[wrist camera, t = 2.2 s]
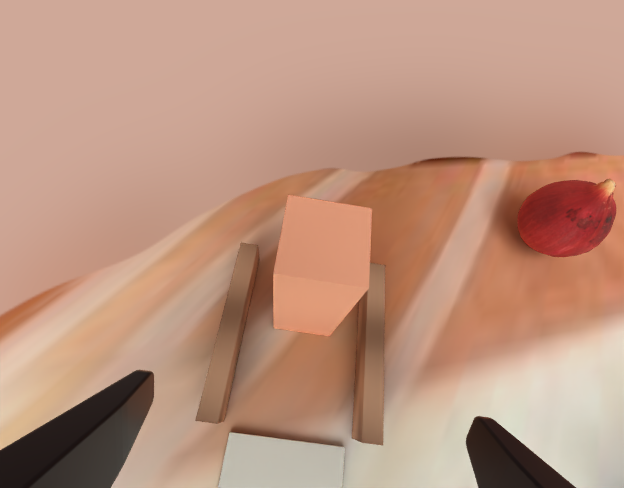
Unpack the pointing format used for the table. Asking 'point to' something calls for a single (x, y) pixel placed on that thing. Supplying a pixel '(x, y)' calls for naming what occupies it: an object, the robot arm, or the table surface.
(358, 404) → the channel
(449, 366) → the table surface
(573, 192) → the onion
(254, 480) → the pad
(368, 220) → the block
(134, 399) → the robot arm
